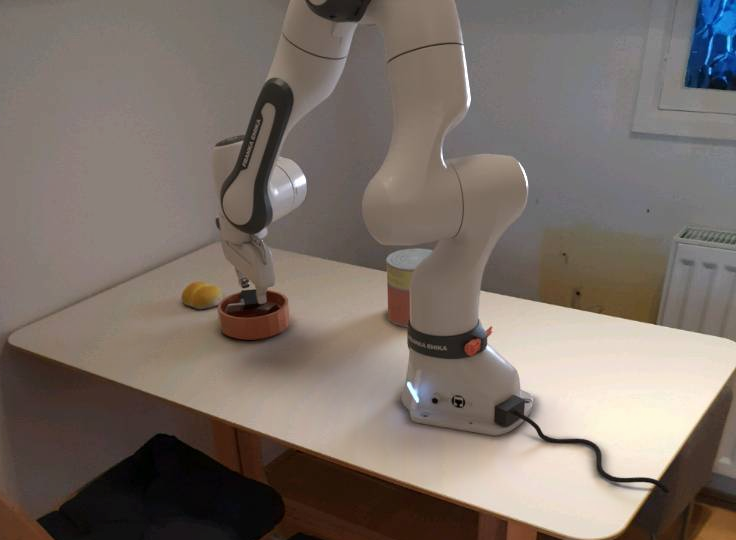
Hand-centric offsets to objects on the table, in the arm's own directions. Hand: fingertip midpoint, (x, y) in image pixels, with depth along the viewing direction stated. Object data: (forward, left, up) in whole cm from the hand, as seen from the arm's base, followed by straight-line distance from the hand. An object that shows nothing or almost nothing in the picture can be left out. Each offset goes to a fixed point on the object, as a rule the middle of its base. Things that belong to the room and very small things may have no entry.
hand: (252, 294), depth 166 cm
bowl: (-1, +2, -6) cm, 6 cm away
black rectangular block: (+1, +1, -2) cm, 3 cm away
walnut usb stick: (-3, +2, -5) cm, 6 cm away
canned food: (-28, -18, -6) cm, 34 cm away
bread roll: (+17, -3, -6) cm, 18 cm away
